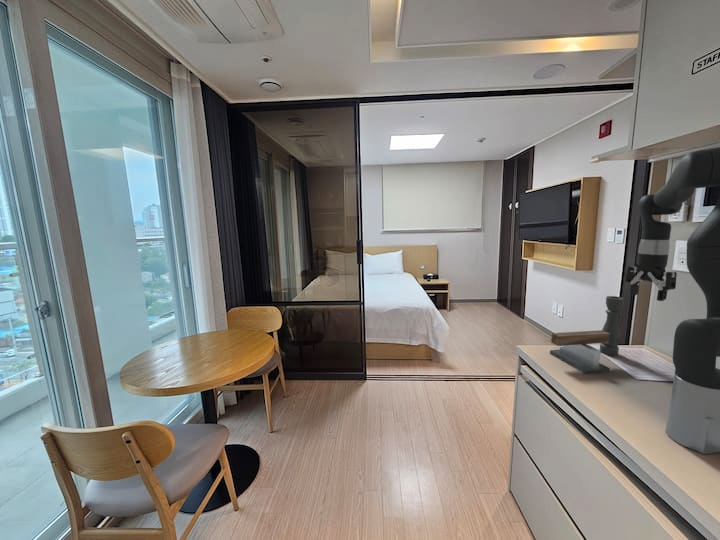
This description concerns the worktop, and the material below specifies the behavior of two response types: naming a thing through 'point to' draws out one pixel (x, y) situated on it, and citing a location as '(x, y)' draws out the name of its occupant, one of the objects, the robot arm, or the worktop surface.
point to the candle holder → (612, 325)
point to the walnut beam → (580, 337)
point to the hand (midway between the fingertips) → (646, 297)
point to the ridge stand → (581, 358)
